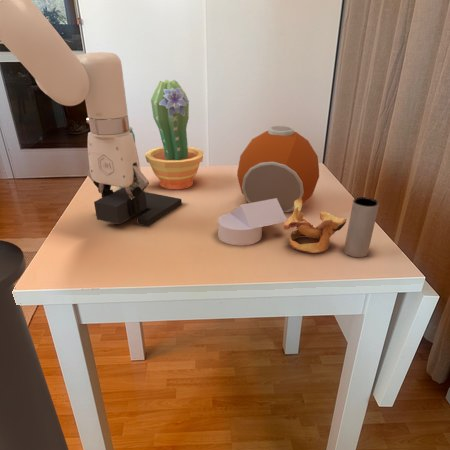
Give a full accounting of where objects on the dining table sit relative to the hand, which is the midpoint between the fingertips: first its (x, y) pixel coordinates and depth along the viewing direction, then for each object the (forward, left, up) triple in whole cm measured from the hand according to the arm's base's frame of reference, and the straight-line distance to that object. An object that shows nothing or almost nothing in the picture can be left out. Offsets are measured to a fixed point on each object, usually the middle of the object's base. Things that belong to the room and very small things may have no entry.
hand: (122, 211), depth 93 cm
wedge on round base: (+28, +6, -2) cm, 28 cm away
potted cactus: (-2, +26, -2) cm, 26 cm away
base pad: (0, +7, -2) cm, 7 cm away
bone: (+41, +7, -2) cm, 41 cm away
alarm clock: (+27, +25, -2) cm, 37 cm away
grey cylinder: (+50, +8, -2) cm, 50 cm away
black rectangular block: (0, 0, -1) cm, 1 cm away
